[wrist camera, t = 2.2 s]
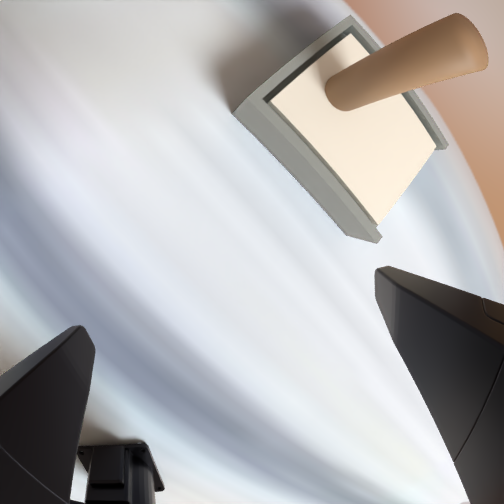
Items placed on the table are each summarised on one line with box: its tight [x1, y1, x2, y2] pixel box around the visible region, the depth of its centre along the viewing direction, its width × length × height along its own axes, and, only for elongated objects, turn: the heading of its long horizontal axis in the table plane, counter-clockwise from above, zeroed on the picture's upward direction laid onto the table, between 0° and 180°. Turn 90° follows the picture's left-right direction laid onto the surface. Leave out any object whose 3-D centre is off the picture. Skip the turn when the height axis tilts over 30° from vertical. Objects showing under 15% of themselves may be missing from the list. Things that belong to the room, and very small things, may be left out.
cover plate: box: [267, 13, 488, 225], centre depth 14 cm, size 10×8×11 cm
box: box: [232, 15, 449, 244], centre depth 19 cm, size 12×10×4 cm
